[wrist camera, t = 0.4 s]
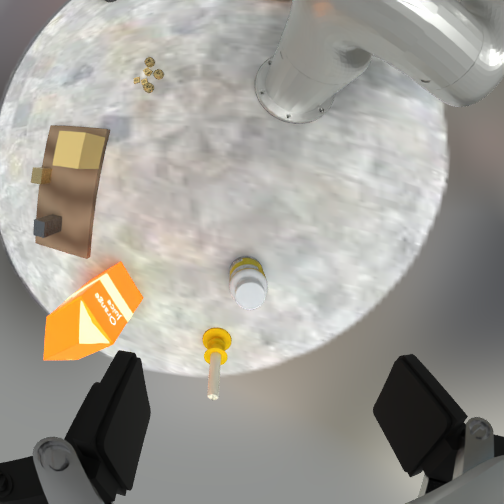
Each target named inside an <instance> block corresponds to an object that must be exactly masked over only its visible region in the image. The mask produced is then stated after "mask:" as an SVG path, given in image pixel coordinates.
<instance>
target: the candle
mask: <svg viewBox="0 0 504 504" xmlns="http://www.w3.org/2000/svg"><path fill="white" fill-rule="evenodd" d="M203 344H204V346H205V347H206V348H207V349H208V350H207V351H206V352H205V354H204V358H205V361H206V362H207V363H209V364H210V368H209V381H208V398H209V399H212V400H216V399H218V395H219V381H220V365H222V364H224V363H225V362H226V361H227V354H226V352H225V350H227V349H228V348H229V347H230V345H231V336H230V334H229V333H228V332H227V331H226V330H224V329H221V328H211V329H209V330H207V331H206V332H205V333H204V335H203Z"/></svg>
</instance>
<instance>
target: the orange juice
mask: <svg viewBox="0 0 504 504" xmlns="http://www.w3.org/2000/svg"><path fill="white" fill-rule="evenodd" d="M142 299H143V297H142V295H141V293H140V292H139V290H138V289H137V287H136V286H135V284H134V282H133V281H132V279H131V277H130V276H129V274H128V272H127V271H126V269H125V267H124V266H123V264H122V262H119V263H118V264H116V265H114V266H113V267H111V268H109V269H108V270H106V271H104V272H103V273H101V274H100V275H98V276H96V277H95V278H93V279H92V280H90V281H88V282H87V283H86V284H85V285H83V286H82V287H81V288H80V289H79V290H78V291H76V292H75V293H74V294H72V295H71V296H70V297H69V298H68V299H67V300H65V302H64V303H62V304H61V305H60V306H59V307H58V308H57V309H56V310H54V311H53V312H52V313H51V314H50V315H49V316H47V318H46V319H47V321H46V331H45V346H44V360H78V359H80V358H82V357H85V356H87V355H89V354H92V353H94V352H97V351H99V350H101V349H104V348H106V347H109V346H111V345H113V344H114V342H115V341H116V339H117V337H118V336H119V334H120V333H121V331H122V330H123V328H124V326H125V325H126V323H127V322H128V321H129V319H130V318H131V316H132V315H133V313H134V311H135V310H136V308H137V307H138V305H139V304H140V302H141V301H142Z"/></svg>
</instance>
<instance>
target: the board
mask: <svg viewBox="0 0 504 504" xmlns="http://www.w3.org/2000/svg"><path fill="white" fill-rule="evenodd" d="M59 131H72V132H85V133H89V134H93V135H97V136H101V137H105V142H104V146H103V150H102V155H101V159H100V164H99V169H75V168H69V167H62V166H54V165H53V159H54V154H55V149H56V144H57V140H58V135H59ZM109 133H110V130H108V129H100V128H88V127H74V126H52V125H51V126H50V130H49V135H48V139H47V144H46V149H45V154H44V159H43V165H42V167H44V168H51V169H52V174H51V181H50V183H47V184H40V185H39V194H38V204H37V217H36V219H37V218H41V217H44V216H48V215H51V214H53V215H58V216H62V229H61V231H60V232H58V233H55V234H53V235H50V236H48V237H45V238H42V237H39V236H36V243H37V244H40V245H43V246H47V247H50V248H53V249H56V250H59V251H63V252H66V253H69V254H73V255H76V256H79V257H83V258H86V259H87V258H89V257H90V251H91V238H92V227H93V218H94V210H95V203H96V196H97V190H98V184H99V178H100V173H101V168H102V163H103V158H104V153H105V149H106V145H107V141H108V137H109Z"/></svg>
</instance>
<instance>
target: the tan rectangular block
mask: <svg viewBox="0 0 504 504" xmlns="http://www.w3.org/2000/svg"><path fill="white" fill-rule="evenodd" d="M104 142H105V137H101V136H97V135H93V134H89V133H85V132H72V131H59V135H58V140H57V144H56V149H55V154H54V159H53V165H54V166H62V167H69V168H75V169H99V164H100V159H101V155H102V150H103V146H104Z"/></svg>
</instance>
